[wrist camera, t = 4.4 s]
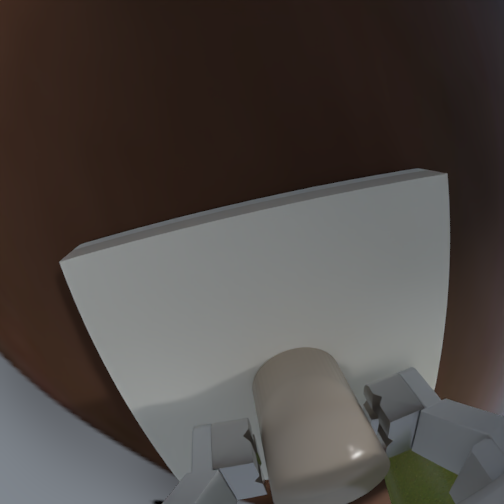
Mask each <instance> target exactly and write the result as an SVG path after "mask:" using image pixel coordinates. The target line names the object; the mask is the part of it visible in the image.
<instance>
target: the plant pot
mask: <svg viewBox="0 0 504 504" xmlns="http://www.w3.org/2000/svg"><path fill="white" fill-rule="evenodd" d="M389 460H390V468H389V471H388V473H387V475H386V476H385V478H384V479H385V483H386V486H387V489H388V493H389V496H390V500H391V503H392V504H455V502H454V501H453V499H452V497H451V495H450V494H449V491H450V489H451V487H452V485H453V484H454V482H455V480H456V478H457V476H458V475H457V474H455V473H453V472H451V471H449V470H447V469H445V468H443V467H441V466H440V465H438V464H436V463H434V462H432V461H430V460H428V459H426V458H424V457H423V456H421V455H419V454H417V453H415V452H413V451H412V449H411V450H408V451H406V452H403V453H401V454H398V455H396V456H393V457H391V458H389Z"/></svg>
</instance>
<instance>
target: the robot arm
mask: <svg viewBox="0 0 504 504" xmlns="http://www.w3.org/2000/svg"><path fill="white" fill-rule="evenodd" d="M364 396H365V398H366V402H365V403H364V404H363V411H364V413H365V415H366V417H367V419H368V420H369V422H370V424H371V426H372V428H373V430H374V432H375V434H376V435H377V437H378V439H379V441H380V443H381V445H382V447H383V449H384V450H385V452H386V454H387V456H388V458H391V457H393V456H396V455H398V454H401V453H403V452H406V451H408V450H411V449H412V451H413V452H415V453H417V454H419V455H421V456H423V457H424V458H426V459H428V460H430V461H432V462H434V463H436V464H438V465H440V466H441V467H443V468H445V469H447V470H449V471H451V472H453V473H455V474H457V475H458V476H457V478H456V480H455V482H454V484H453V485H452V487H451V489H450V491H449V494H450V495H451V497H452V499H453V501H454V502H455V504H504V416H501V415H498V414H494V413H491V412H488V411H484V410H481V409H478V408H474V407H471V406H468V405H465V404H461V403H458V402H455V401H452V400H449V399H444V400H441V399H440V398H439V396H438V395H437V394H436V393H435V392H434V390H433V389H432V388H431V387H430V386H429V384H428V383H427V382H426V381H425V379H424V378H423V377H422V376H421V375H420V373H419V372H418V371H417V370H416V369H415V368H413V367H410V368H408V369H405V370H403V371H400V372H398V373H395V374H392V375H390V376H387V377H385V378H382V379H379V380H377V381H374V382H371V383H369V384H366V385H365V386H364ZM261 464H262V462H261V457H260V453H259V448H258V444H257V441H256V438H255V435H254V434H252V428H251V424H250V421H249V419H248V418H243V419H237V420H231V421H225V422H218V423H212V424H206V425H198V426H194V428H193V430H192V466H191V473H186V474H185V475H184V477H183V478H182V479H181V481H180V482H179V483H178V485H177V486H176V487H175V488H174V489H173V491H172V492H171V493H170V494H169V496H168V497H167V498H166V499H165V501H164V502H163V503H162V504H236V503H237V500H241V499H246V498H251V497H257V496H261V495H266V494H267V490H266V485H265V479H264V475H263V472H262V469H261V467H260V466H261Z"/></svg>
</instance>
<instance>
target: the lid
mask: <svg viewBox="0 0 504 504" xmlns="http://www.w3.org/2000/svg"><path fill="white" fill-rule="evenodd" d="M59 263H60V266H61V268H62V271H63V274H64V276H65V279H66V281H67V284H68V286H69V289H70V291H71V294H72V296H73V299H74V301H75V303H76V306H77V308H78V310H79V313H80V315H81V317H82V319H83V322H84V324H85V326H86V328H87V330H88V332H89V335H90V337H91V339H92V341H93V343H94V345H95V347H96V349H97V351H98V353H99V355H100V357H101V359H102V361H103V363H104V365H105V366H106V368H107V370H108V372H109V374H110V376H111V378H112V379H113V381H114V383H115V385H116V387H117V388H118V390H119V392H120V394H121V395H122V397H123V399H124V400H125V402H126V404H127V406H128V407H129V409H130V410H131V412H132V414H133V415H134V417H135V419H136V420H137V422H138V423H139V425H140V426H141V428H142V430H143V431H144V433H145V434H146V436H147V437H148V439H149V440H150V442H151V443H152V445H153V446H154V447H155V449H156V450H157V452H158V453H159V455H160V456H161V457H162V459H163V460H164V462H165V463H166V464H167V466H168V467H169V468H170V470H171V471H172V473H173V474H174V475H175V476H176V478H177V479H178V480H179V482H180V481H181V479H182V478H183V477H184V475H185V474H186V473H191V466H192V430H193V428H194V426H198V425H206V424H212V423H218V422H225V421H231V420H237V419H243V418H248V419H249V421H250V424H251V428H252V434H254V435H255V438H256V441H257V444H258V448H259V453H260V457H261V462H262V464H261V466H260V467H261V469H262V472H263V475H264V479H265V480H268V479H269V483H270V488H271V493H272V498H273V502H274V504H347V503H349V502H352V501H354V500H356V499H358V498H360V497H361V496H363V495H365V494H366V493H368V492H369V491H371V490H372V489H373V488H374V487H376V486H377V485H378V484H379V483H380V482H381V481H382V480H383V479H384V478H385V476H386V475H387V473H388V471H389V468H390V460H389V458H388V456H387V454H386V452H385V450H384V449H383V447H382V445H381V443H380V441H379V439H378V437H377V435H376V434H375V432H374V430H373V428H372V426H371V424H370V422H369V420H368V419H367V417H366V415H365V413H364V411H363V404H364V403H365V402H366V398H365V396H364V386H365V385H366V384H369V383H371V382H374V381H377V380H379V379H382V378H385V377H387V376H390V375H392V374H395V373H398V372H400V371H403V370H405V369H408V368H410V367H413V368H415V369H416V370H417V371H418V372H419V373H420V375H421V376H422V377H423V378H424V379H425V381H426V382H427V383H428V384H429V386H430V387H431V388H432V389H433V390H435V385H436V380H437V374H438V369H439V363H440V357H441V350H442V344H443V336H444V328H445V319H446V310H447V298H448V284H449V264H450V209H449V188H448V174H447V173H442V172H437V171H431V170H425V171H419V172H413V173H407V174H401V175H395V176H389V177H384V178H378V179H373V180H367V181H362V182H356V183H351V184H346V185H341V186H336V187H330V188H325V189H320V190H315V191H311V192H306V193H301V194H296V195H291V196H287V197H282V198H277V199H273V200H268V201H264V202H259V203H255V204H250V205H246V206H241V207H237V208H233V209H228V210H224V211H220V212H216V213H211V214H207V215H203V216H199V217H195V218H191V219H187V220H183V221H179V222H175V223H171V224H167V225H163V226H159V227H155V228H152V229H148V230H144V231H140V232H136V233H133V234H129V235H125V236H122V237H118V238H114V239H111V240H107V241H103V242H100V243H96V244H93V245H89V246H86V247H82V248H79V249H75V250H73V251H71V252H70V253H69V254H68V255H67V256H65V257H64V258H63V259H62V260H61V261H59Z"/></svg>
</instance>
